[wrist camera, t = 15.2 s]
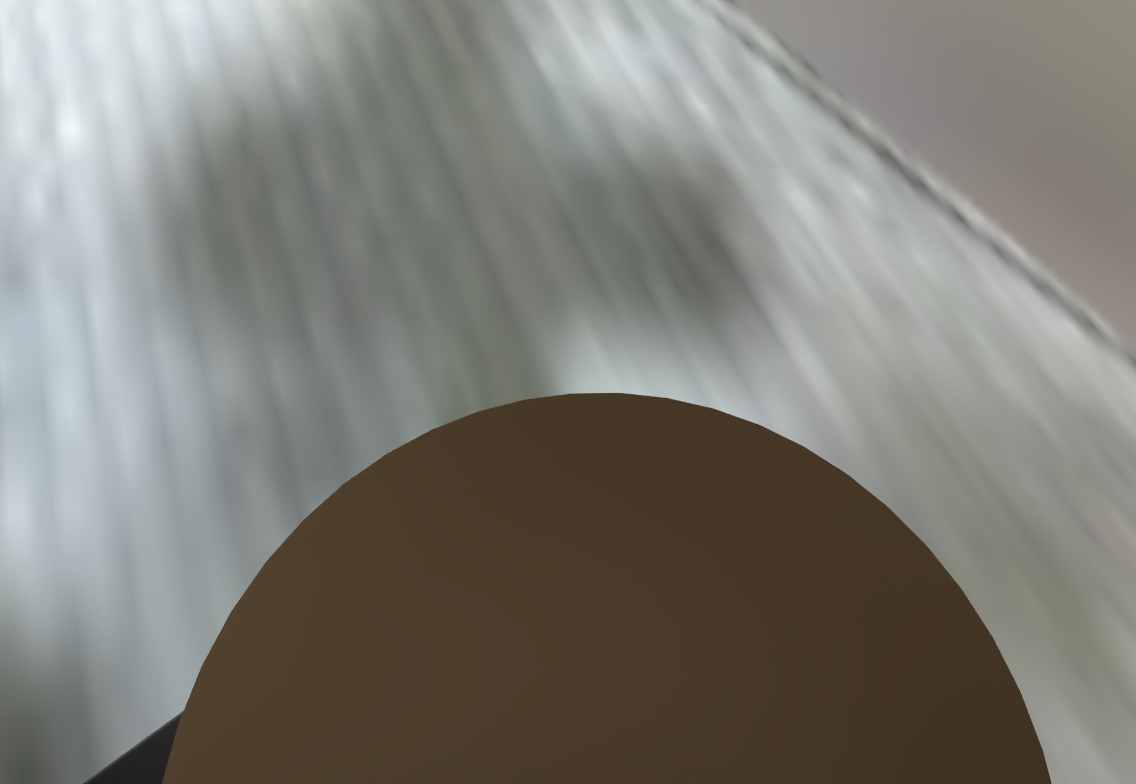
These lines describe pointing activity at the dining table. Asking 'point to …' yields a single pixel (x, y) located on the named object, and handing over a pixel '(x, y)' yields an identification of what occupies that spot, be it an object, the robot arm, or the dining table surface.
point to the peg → (604, 621)
